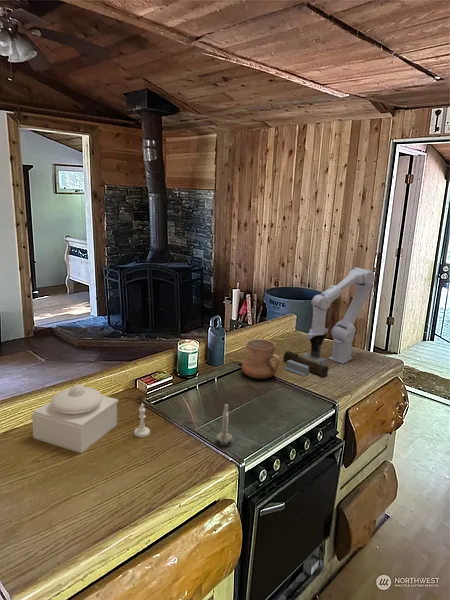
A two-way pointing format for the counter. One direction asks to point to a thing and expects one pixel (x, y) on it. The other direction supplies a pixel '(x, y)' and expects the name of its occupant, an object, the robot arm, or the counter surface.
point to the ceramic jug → (260, 359)
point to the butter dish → (75, 418)
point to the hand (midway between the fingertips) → (315, 350)
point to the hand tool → (306, 363)
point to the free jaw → (315, 356)
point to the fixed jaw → (297, 368)
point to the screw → (224, 428)
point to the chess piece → (142, 424)
